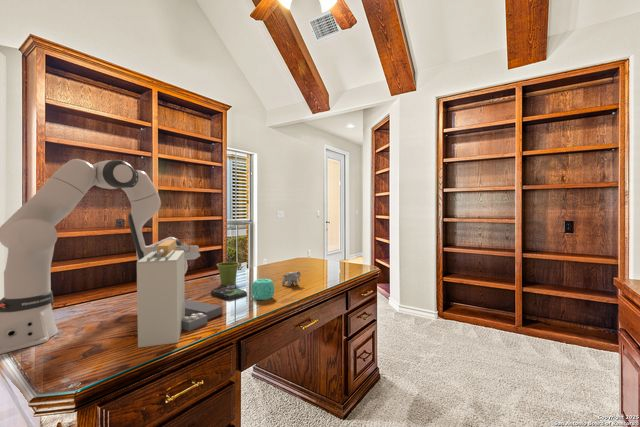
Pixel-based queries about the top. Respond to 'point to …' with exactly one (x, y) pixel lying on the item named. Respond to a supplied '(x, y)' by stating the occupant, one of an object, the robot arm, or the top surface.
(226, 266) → the plant pot
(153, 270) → the slotted cream upright block
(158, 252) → the long orange square stick
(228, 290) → the disk drive
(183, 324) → the switch box
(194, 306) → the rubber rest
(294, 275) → the gray elephant figurine
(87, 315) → the top surface
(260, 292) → the decorative dice
